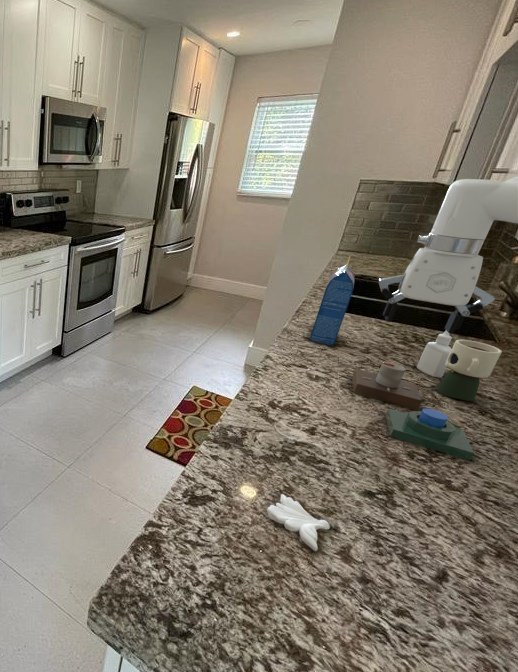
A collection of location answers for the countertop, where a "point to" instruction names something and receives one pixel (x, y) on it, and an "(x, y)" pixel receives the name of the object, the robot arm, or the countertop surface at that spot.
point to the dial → (390, 374)
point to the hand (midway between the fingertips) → (417, 325)
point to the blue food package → (333, 306)
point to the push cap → (433, 418)
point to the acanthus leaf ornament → (297, 520)
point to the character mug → (467, 368)
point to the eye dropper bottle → (435, 356)
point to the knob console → (386, 390)
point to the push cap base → (428, 434)
